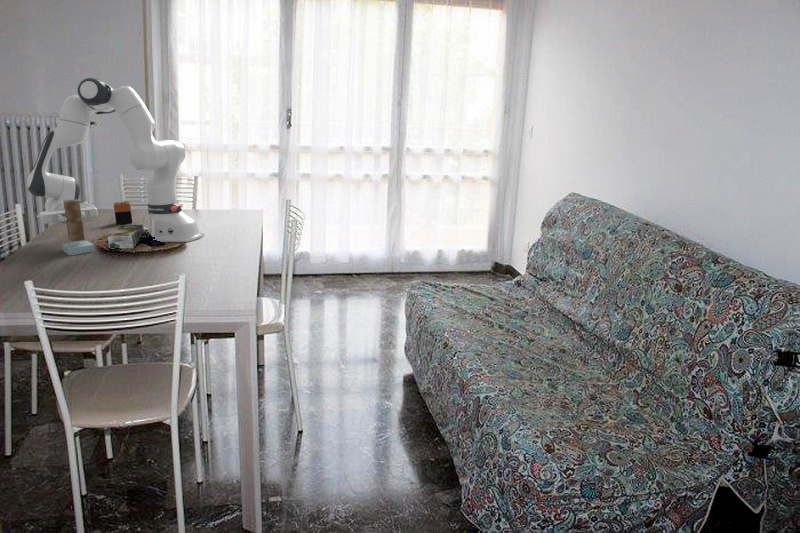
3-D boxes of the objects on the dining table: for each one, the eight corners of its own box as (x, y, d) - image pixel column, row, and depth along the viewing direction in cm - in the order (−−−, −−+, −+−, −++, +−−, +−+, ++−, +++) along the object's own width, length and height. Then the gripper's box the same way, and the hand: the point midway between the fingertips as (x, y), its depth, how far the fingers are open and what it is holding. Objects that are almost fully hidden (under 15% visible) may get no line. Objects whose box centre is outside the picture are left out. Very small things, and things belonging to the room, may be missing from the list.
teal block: (87, 247, 270) (86, 240, 269) (94, 252, 263) (93, 244, 262) (63, 251, 264) (62, 244, 263) (70, 256, 258) (68, 248, 257)
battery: (132, 223, 310) (129, 201, 307) (116, 224, 307) (113, 202, 305) (131, 221, 314) (129, 199, 311) (115, 223, 311) (113, 201, 308)
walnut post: (81, 237, 265) (76, 199, 261) (84, 239, 262) (79, 200, 258) (68, 239, 263) (63, 200, 259) (72, 241, 259) (66, 202, 255)
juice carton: (134, 250, 265) (132, 234, 263) (107, 251, 264) (105, 235, 262) (146, 238, 284) (144, 223, 282) (121, 239, 283) (119, 225, 281)
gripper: (34, 207, 263) (43, 213, 252) (90, 201, 275) (101, 206, 265) (36, 223, 264) (45, 230, 254) (92, 216, 277) (103, 222, 266)
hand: (74, 218), depth 259 cm, fingers closed on walnut post, 4 cm apart
